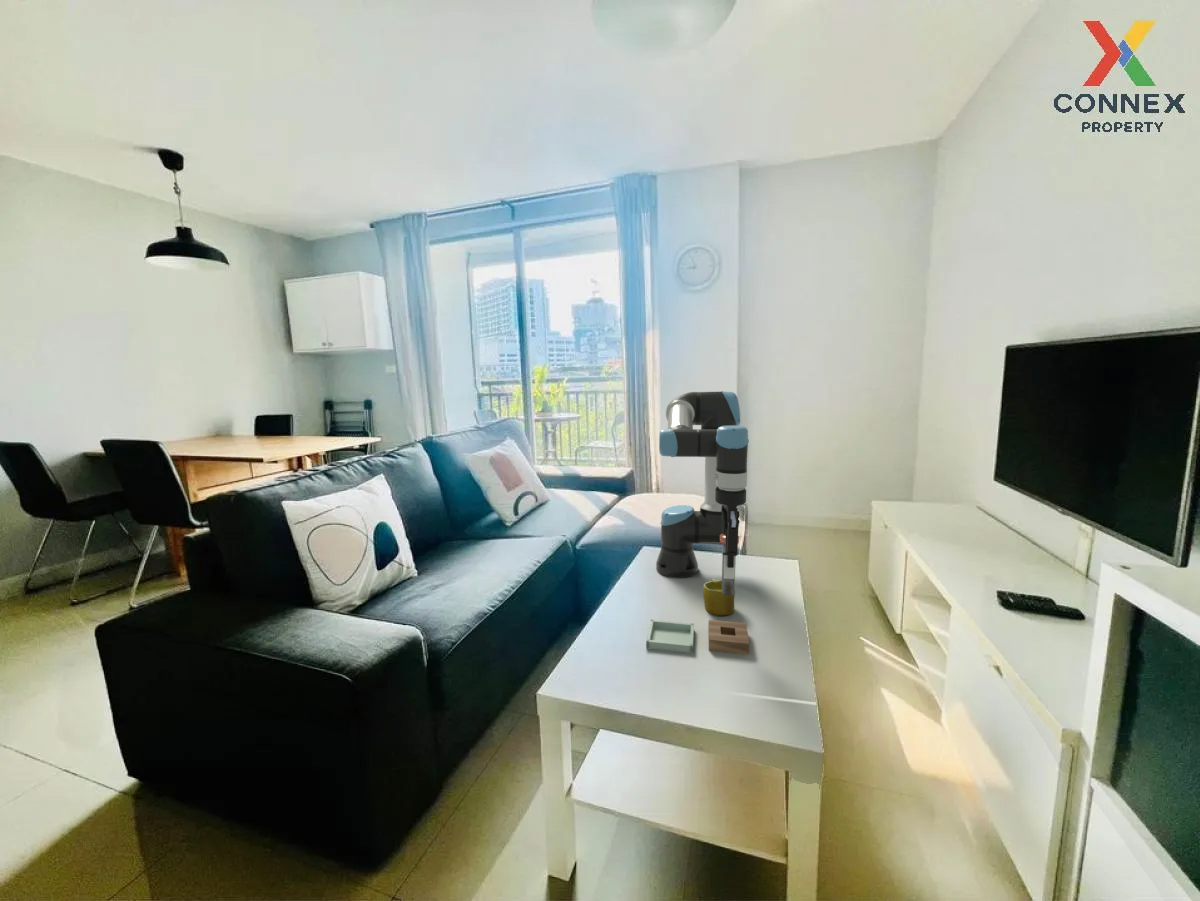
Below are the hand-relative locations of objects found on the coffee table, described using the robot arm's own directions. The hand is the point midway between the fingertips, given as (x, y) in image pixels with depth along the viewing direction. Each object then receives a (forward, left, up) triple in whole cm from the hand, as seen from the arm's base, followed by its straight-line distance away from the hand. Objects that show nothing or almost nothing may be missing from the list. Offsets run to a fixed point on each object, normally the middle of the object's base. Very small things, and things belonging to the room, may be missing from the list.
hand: (728, 574), depth 122 cm
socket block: (0, 0, -19) cm, 19 cm away
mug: (-19, -2, -20) cm, 27 cm away
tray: (+2, -15, -19) cm, 24 cm away
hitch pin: (0, 0, -5) cm, 5 cm away
